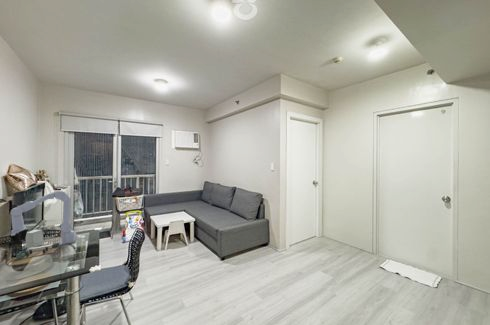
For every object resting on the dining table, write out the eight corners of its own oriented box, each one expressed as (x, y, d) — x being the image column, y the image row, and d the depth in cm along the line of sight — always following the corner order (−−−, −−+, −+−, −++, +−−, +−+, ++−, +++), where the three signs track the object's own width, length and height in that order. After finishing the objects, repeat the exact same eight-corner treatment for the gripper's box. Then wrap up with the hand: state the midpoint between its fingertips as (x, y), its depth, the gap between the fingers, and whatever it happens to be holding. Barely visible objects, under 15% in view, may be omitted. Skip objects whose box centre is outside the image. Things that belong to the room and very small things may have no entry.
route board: (58, 248, 158) (58, 244, 158) (53, 253, 150) (52, 248, 150) (22, 255, 149) (21, 250, 149) (14, 261, 141) (13, 256, 141)
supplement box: (44, 244, 168) (42, 229, 167) (34, 248, 160) (32, 232, 160) (36, 244, 169) (35, 229, 168) (26, 248, 161) (24, 232, 161)
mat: (63, 244, 165) (62, 244, 164) (59, 247, 159) (59, 247, 159) (26, 251, 155) (26, 251, 155) (21, 255, 150) (21, 254, 150)
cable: (59, 245, 162) (58, 242, 162) (57, 247, 160) (57, 243, 159) (28, 251, 155) (28, 247, 155) (26, 252, 152) (26, 249, 152)
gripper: (16, 221, 154) (18, 239, 155) (3, 228, 141) (6, 246, 142) (29, 220, 157) (31, 237, 158) (17, 226, 144) (19, 244, 145)
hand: (20, 241), depth 150 cm, fingers open, 7 cm apart
